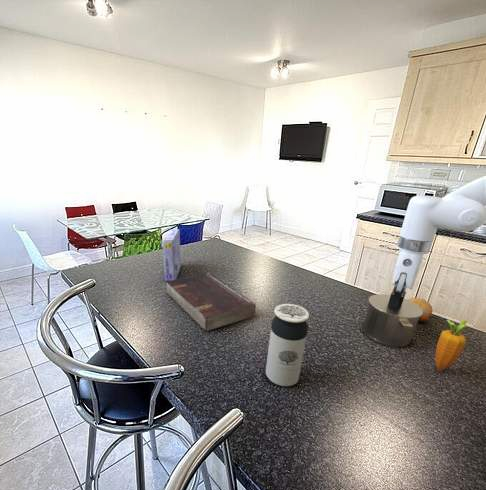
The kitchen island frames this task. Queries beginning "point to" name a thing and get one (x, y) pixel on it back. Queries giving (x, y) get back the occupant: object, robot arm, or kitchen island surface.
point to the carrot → (450, 345)
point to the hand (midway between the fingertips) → (395, 304)
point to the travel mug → (287, 344)
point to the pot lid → (405, 312)
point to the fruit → (423, 308)
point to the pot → (388, 328)
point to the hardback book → (210, 300)
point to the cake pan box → (171, 254)
